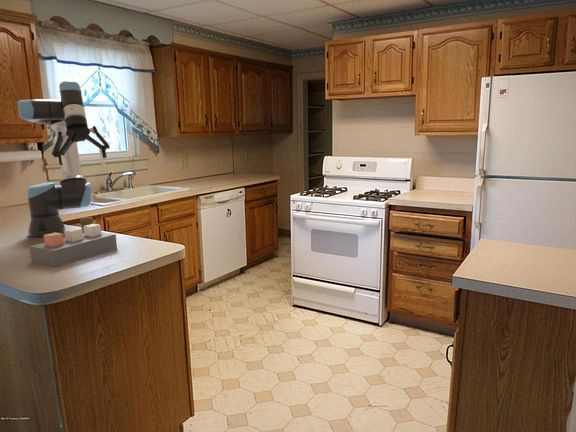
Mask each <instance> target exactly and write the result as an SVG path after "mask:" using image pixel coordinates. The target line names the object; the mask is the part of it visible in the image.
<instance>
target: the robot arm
mask: <svg viewBox="0 0 576 432" xmlns="http://www.w3.org/2000/svg"><path fill="white" fill-rule="evenodd" d="M58 87H59V89H58V90H59V94H60V99H58V98H57V99H56V98H55V99H54V98H53V99H52V98H48V99H45V98H43V99H42V98H35V99H20V100H18V101H17V108H18V116H19V119H21V120H25V121H27V122H29V123H33V124H38V125H39V124H40V125H50V128H51V130H53V131H54V133H55V139H56V141H55V144H54V147H53V149H52V152H51V155H52V156H53V157H54V158H57V159H58V164H59V165H60V170H61V177H62V178H61V179H60V180H59V184H56V182H54V181H52V182H44V183H39V184H34V185H31V186H29V187H28V188H27V190H26V193H27V194H26V195H27V197H26V198H27V201H28V208H29V214H30V220H29V221H30V222H29V225H28V230H27V231H28V236H29V237H32V238H41V237H43V238H44V235H46V234H50V233H62V234H63V233H64V234H65V232H64V230H66V226H65V225H64V222H63V220H62V218H61V216H60V212H59V210H71V209H81V208H87V207H89V206H90V205H91V202H92V184H91V182H89V181H88V180H87V178H85V177H84V176H83V173H82V165H81V160H80V154H79V148H78V143H80V142H85V141H88V142H89V143H91V144H93V145H94V146H96V147H97V148H98V151H99V156H100V160H101V165H102V167H103V168H106V161H105V159H107V152H106V150H107V149H110V145H109V143H108V142H107V141H106V139H105V138H104V137H103V136H102V135H101V134H100V132H99V131H98V128H97V127H96V126H95V125H94V126H92V127H90V128H89V126H88V121H87V116H86V115H87V114H86V111H85V105H84V101H83V96H82V90H81V86H80V84H79V83H78V82H77V81H75V80H63V81H61V82H60V83H59V85H58ZM91 133H92V134H95V136H96V137H97V139H99V141H100V142H101V143H102V144H101V143H100V142H99V141H97V140H96V139H94V138H93V137H91V135H90V134H91ZM87 181H88V182H87Z"/></svg>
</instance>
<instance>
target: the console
mask: <svg viewBox="0 0 576 432" xmlns="http://www.w3.org/2000/svg"><path fill="white" fill-rule="evenodd" d="M101 234H102V235H98V236H94V237H88V236H84V233H83V239H82V240H78V241H75V242H70V241H66V240H65V237H63V241H64V244H63V245H59V246H55V247H49V246H45V242H41V243H38V244H34V245H33V244H32V245H30V246H29V253H30V258H31V263H33V264H39V265H43V266H48V267H52V268H59V267H61V266H64V265H67V264H71V263H75V262H79V261H81V260H85V259H87V258H91V257H95V256H98V255H102V254H105V253H107V252H111V251H115V250H117V249H118V245H117V244H118V243H117V236H116V235H117V234H116V233H110V232H102V231H101Z"/></svg>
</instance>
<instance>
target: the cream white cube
mask: <svg viewBox="0 0 576 432" xmlns="http://www.w3.org/2000/svg"><path fill="white" fill-rule="evenodd" d="M64 238H65V240H66V241H70V242H75V241H78V240H82V239H83V231H82V228H77V227H73V228H69V229H65V230H64Z"/></svg>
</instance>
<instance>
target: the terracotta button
mask: <svg viewBox="0 0 576 432" xmlns="http://www.w3.org/2000/svg"><path fill="white" fill-rule="evenodd" d="M63 238H64V235H63V233H50V234H46V235H44V237H43V241H44V242H43V243H45V246H49V247H55V246H59V245H63V244H64V241H63Z"/></svg>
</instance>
